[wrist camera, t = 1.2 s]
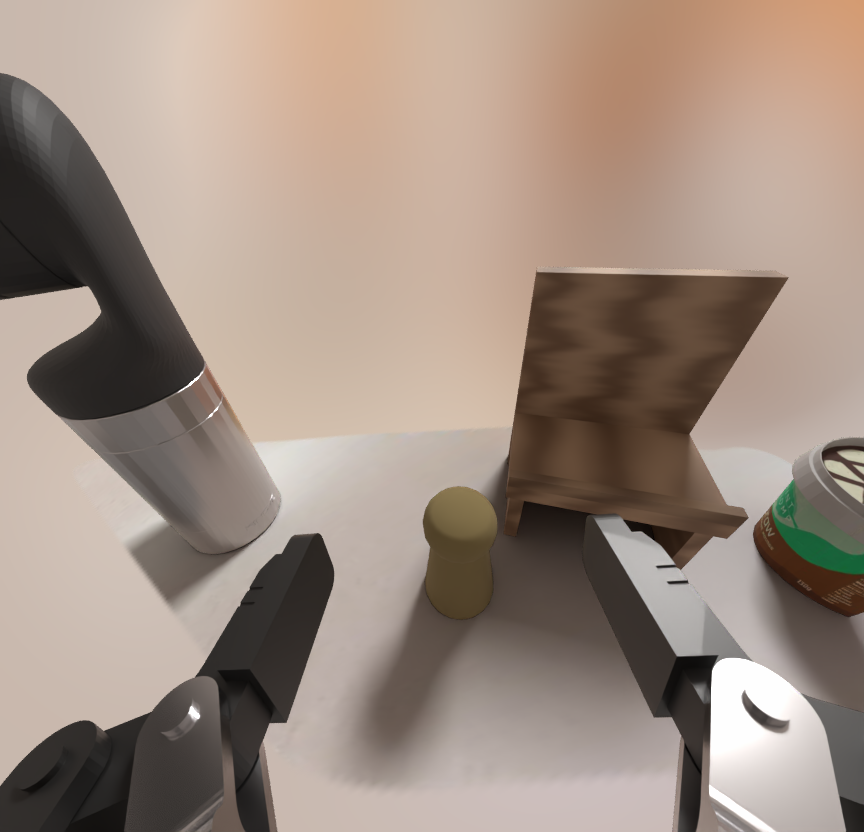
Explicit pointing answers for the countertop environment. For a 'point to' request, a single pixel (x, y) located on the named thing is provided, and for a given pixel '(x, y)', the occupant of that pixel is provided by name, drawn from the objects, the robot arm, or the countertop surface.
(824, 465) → the food container
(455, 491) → the cork
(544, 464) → the wooden chair
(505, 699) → the countertop surface
